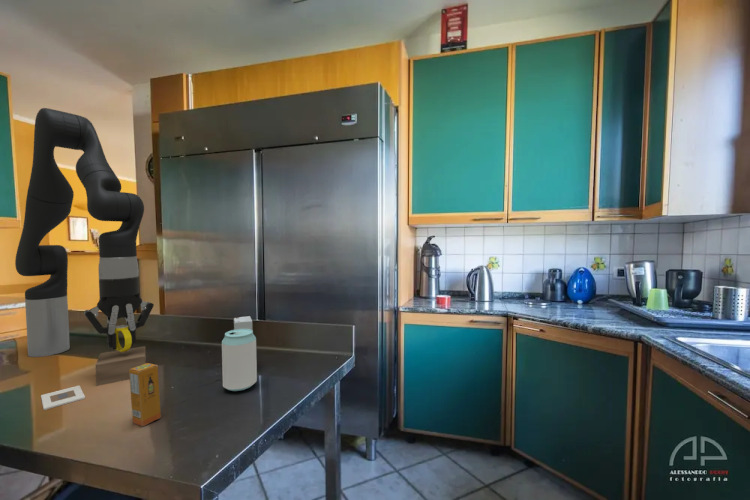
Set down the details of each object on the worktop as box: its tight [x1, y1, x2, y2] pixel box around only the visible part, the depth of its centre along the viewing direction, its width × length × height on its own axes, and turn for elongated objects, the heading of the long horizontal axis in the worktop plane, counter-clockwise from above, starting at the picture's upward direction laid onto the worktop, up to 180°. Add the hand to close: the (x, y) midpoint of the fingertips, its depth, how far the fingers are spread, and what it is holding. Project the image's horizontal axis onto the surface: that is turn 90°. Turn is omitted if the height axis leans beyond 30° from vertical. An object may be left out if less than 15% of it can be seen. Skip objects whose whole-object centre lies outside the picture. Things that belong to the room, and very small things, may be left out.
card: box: [40, 384, 86, 411], centre depth 68 cm, size 8×6×1 cm
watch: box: [114, 324, 132, 352], centre depth 79 cm, size 6×3×6 cm, turn 65°
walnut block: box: [95, 345, 147, 387], centre depth 79 cm, size 9×9×5 cm
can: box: [221, 329, 258, 392], centre depth 73 cm, size 7×7×12 cm
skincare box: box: [233, 315, 254, 332], centre depth 84 cm, size 6×4×12 cm
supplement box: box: [129, 362, 162, 427], centre depth 59 cm, size 3×3×10 cm
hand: (121, 346), depth 79 cm, fingers closed on watch, 2 cm apart
